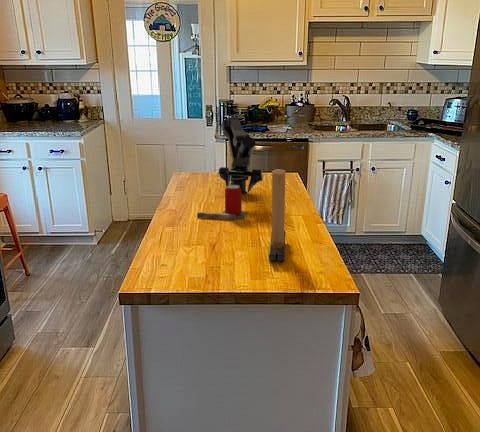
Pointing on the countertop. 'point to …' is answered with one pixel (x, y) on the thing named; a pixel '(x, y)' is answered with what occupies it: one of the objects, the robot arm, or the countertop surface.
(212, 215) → the rail
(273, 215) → the hammer
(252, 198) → the countertop surface
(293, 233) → the countertop surface
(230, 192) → the beverage can
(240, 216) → the end pad
